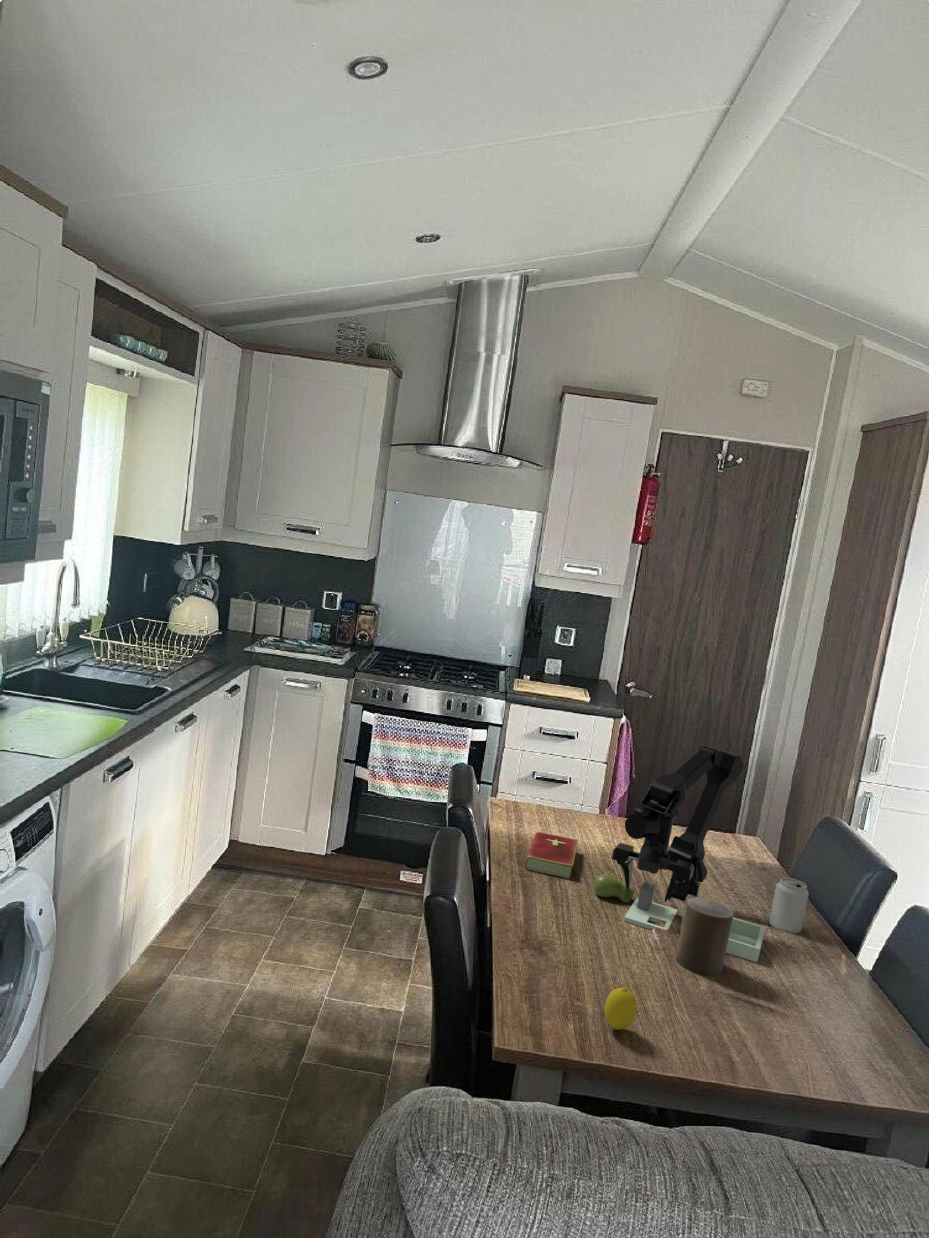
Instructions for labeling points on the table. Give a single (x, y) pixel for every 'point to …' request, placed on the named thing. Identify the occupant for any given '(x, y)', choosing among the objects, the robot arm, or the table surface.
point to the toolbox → (745, 939)
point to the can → (789, 905)
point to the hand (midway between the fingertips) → (646, 895)
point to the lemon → (620, 1008)
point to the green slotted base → (649, 909)
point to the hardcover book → (551, 854)
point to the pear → (612, 888)
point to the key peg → (685, 908)
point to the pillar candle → (704, 936)
